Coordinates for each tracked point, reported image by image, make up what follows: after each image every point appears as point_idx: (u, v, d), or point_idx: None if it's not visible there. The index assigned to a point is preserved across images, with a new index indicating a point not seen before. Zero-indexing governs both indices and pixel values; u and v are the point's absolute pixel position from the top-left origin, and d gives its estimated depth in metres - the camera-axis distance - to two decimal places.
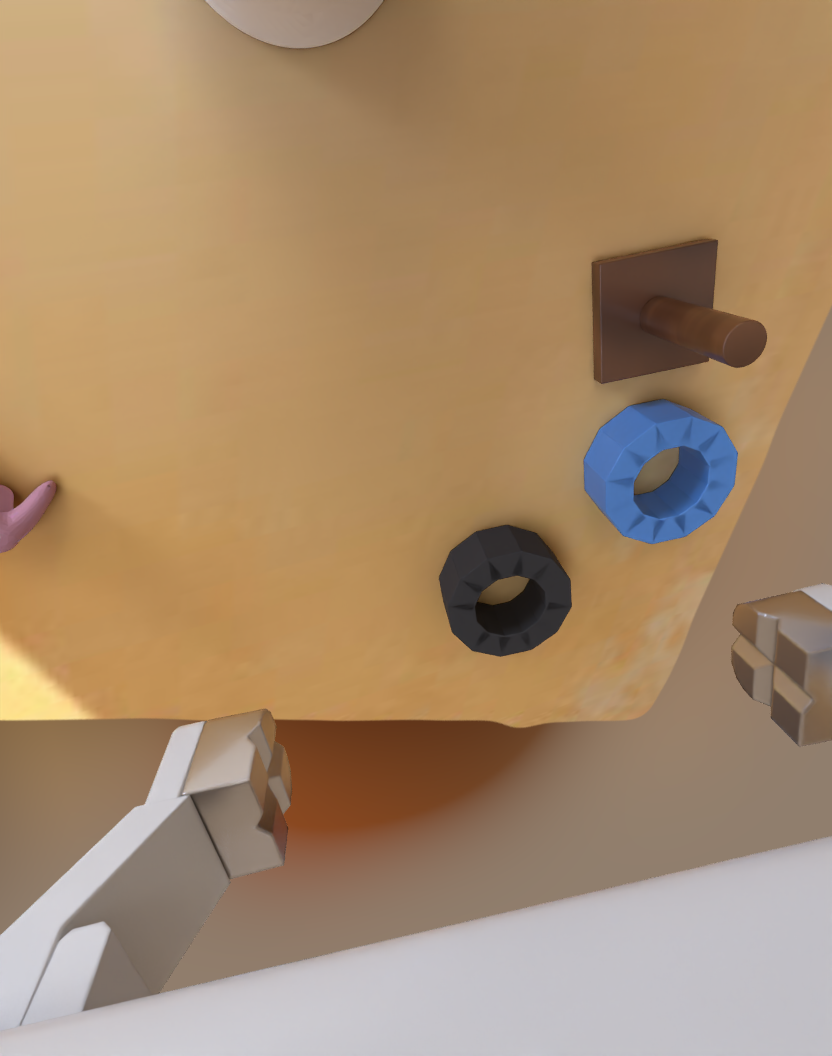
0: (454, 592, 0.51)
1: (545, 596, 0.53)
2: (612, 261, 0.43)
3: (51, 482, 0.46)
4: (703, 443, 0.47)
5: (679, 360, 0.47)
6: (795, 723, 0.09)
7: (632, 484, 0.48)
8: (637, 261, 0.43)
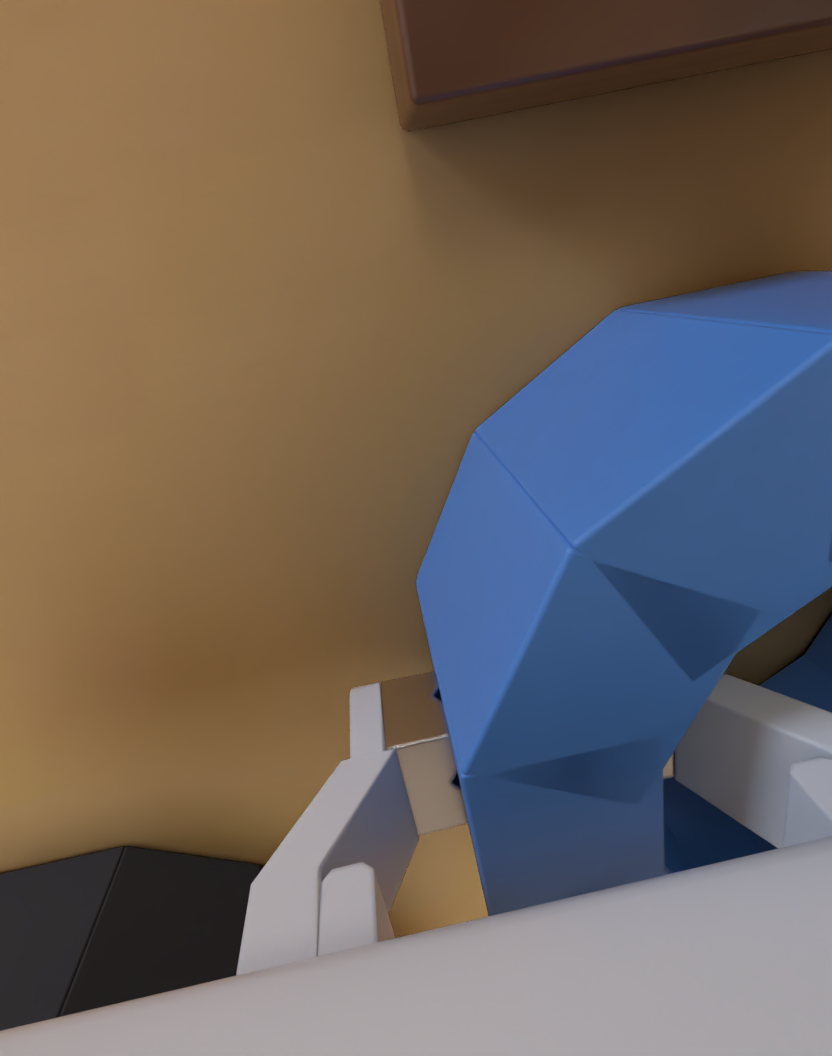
0: None
1: None
2: None
3: None
4: None
5: None
6: None
7: (654, 783, 0.07)
8: None
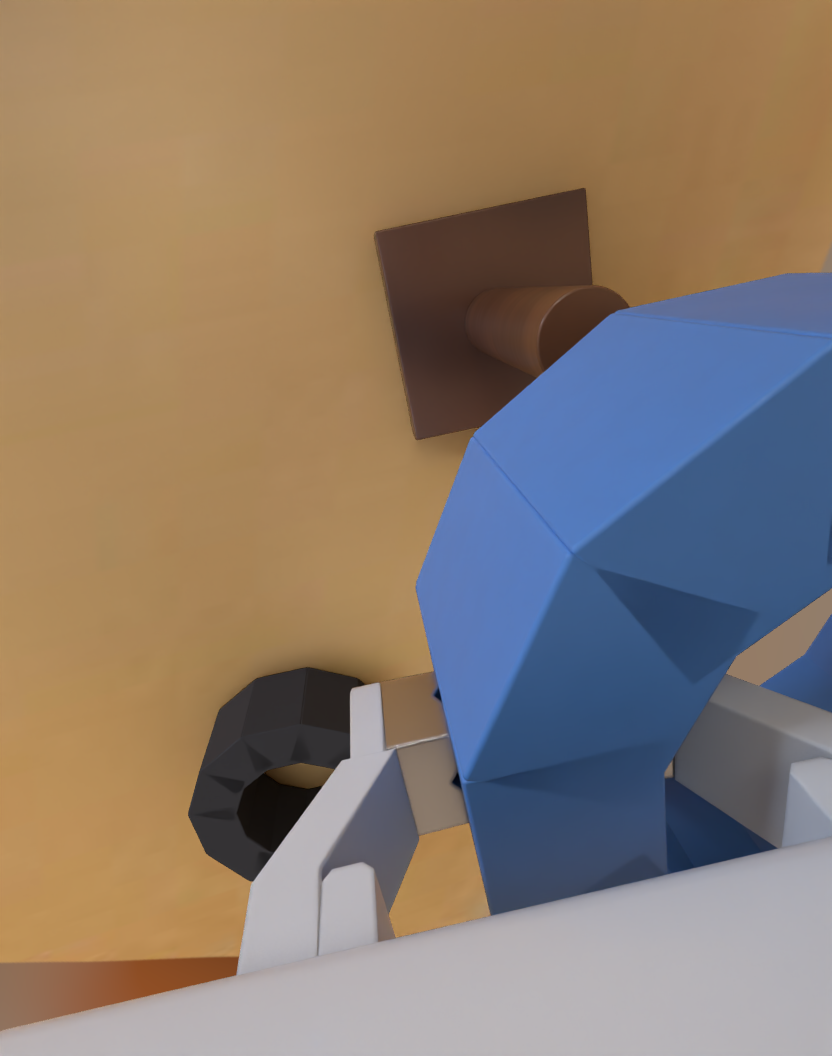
0: (195, 791, 0.30)
1: None
2: None
3: None
4: None
5: None
6: None
7: (655, 786, 0.07)
8: (443, 226, 0.24)
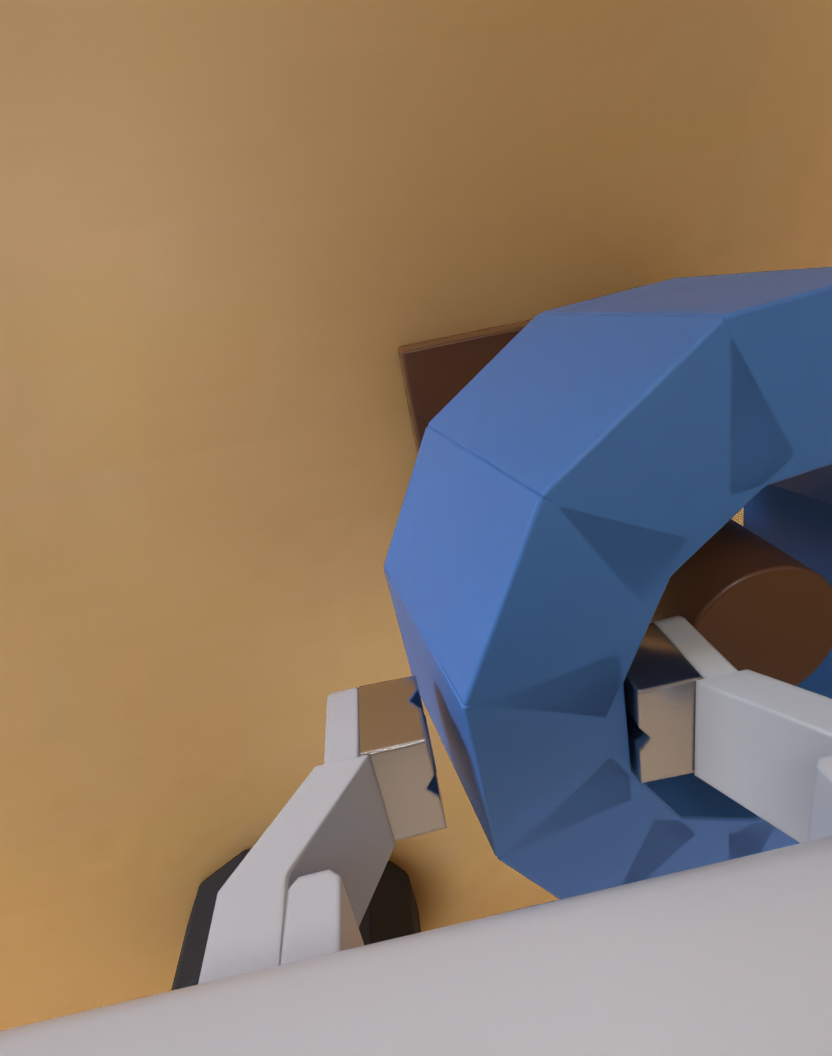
0: None
1: None
2: (433, 346, 0.18)
3: None
4: None
5: None
6: (637, 760, 0.09)
7: (617, 695, 0.08)
8: (492, 345, 0.18)
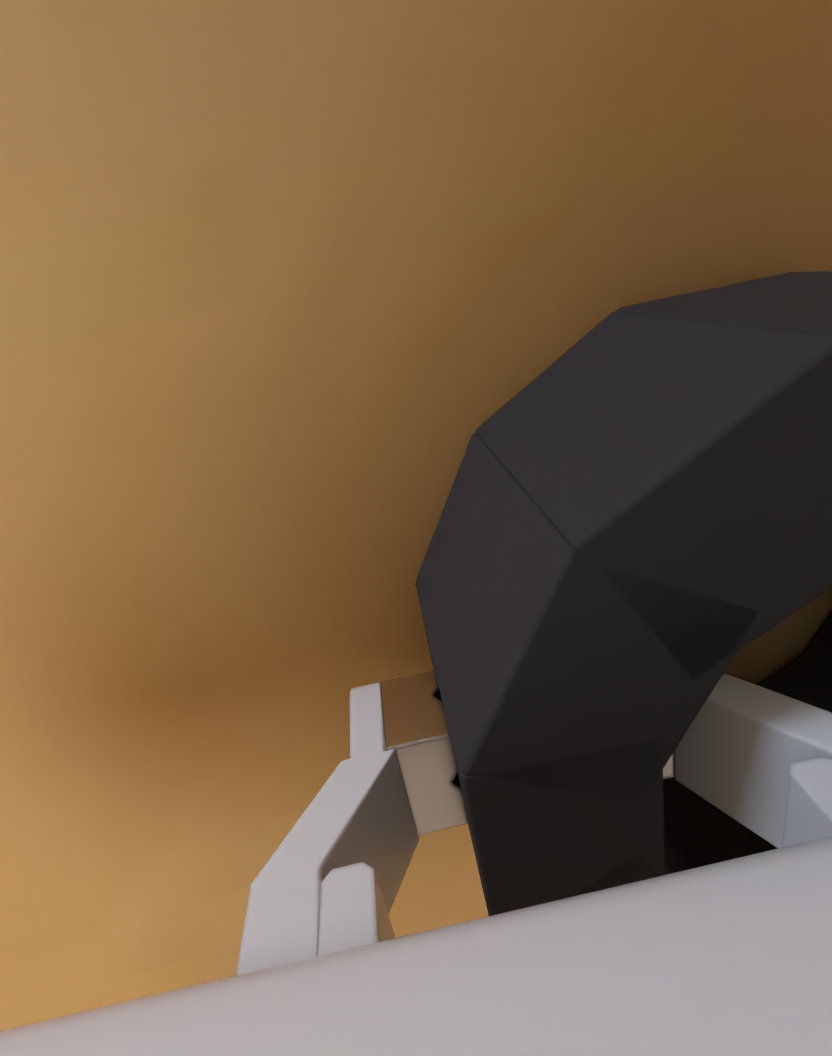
0: (520, 660, 0.06)
1: None
2: None
3: None
4: None
5: None
6: None
7: None
8: None
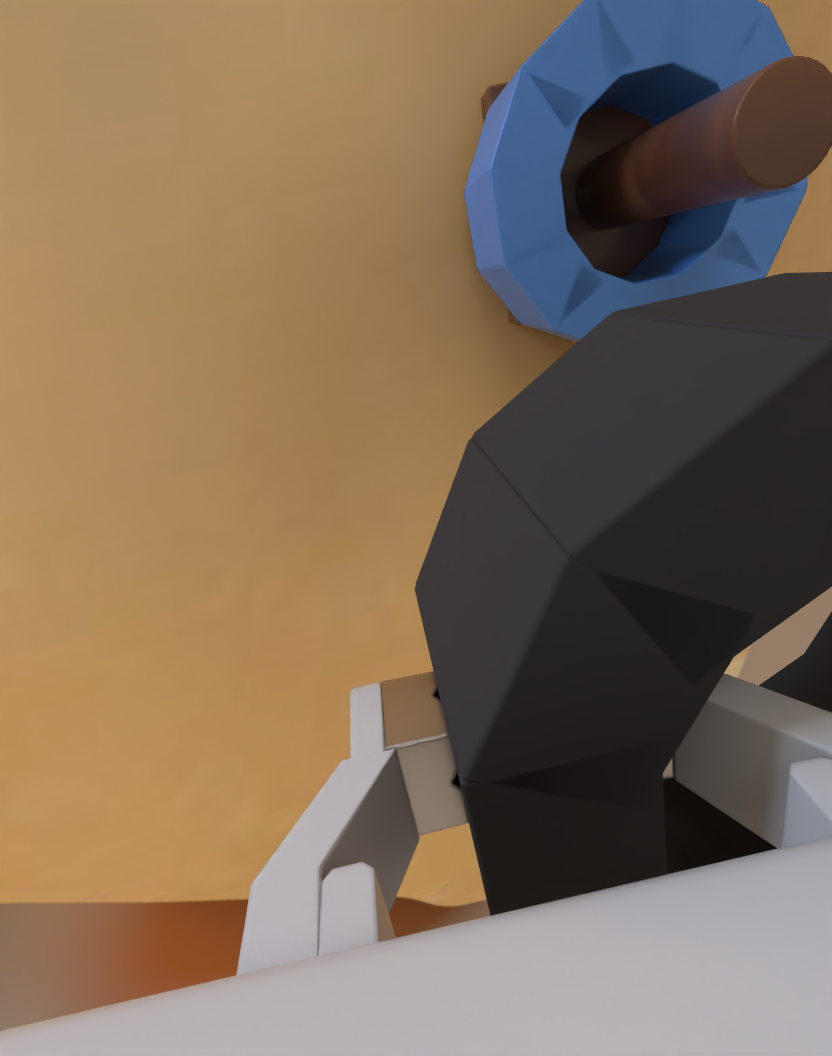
0: (518, 668, 0.06)
1: None
2: None
3: None
4: (721, 56, 0.19)
5: None
6: None
7: (557, 180, 0.20)
8: None
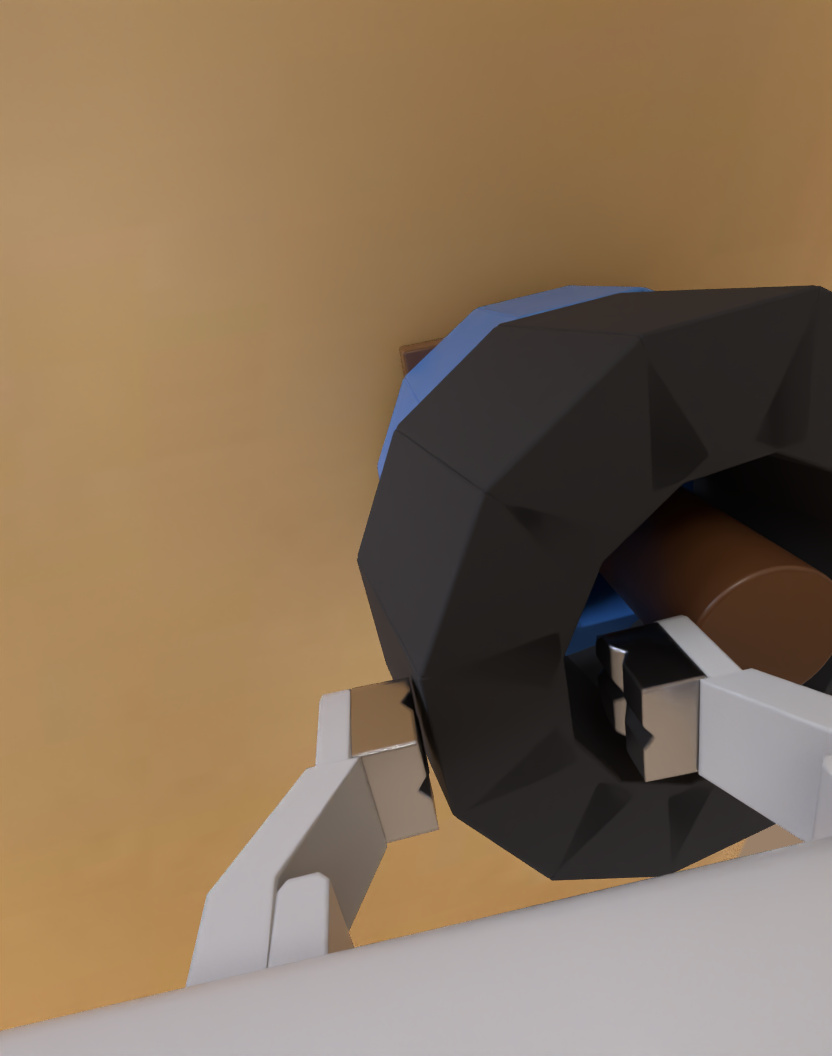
0: (455, 581, 0.08)
1: None
2: (435, 345, 0.18)
3: None
4: None
5: None
6: (640, 759, 0.09)
7: None
8: None
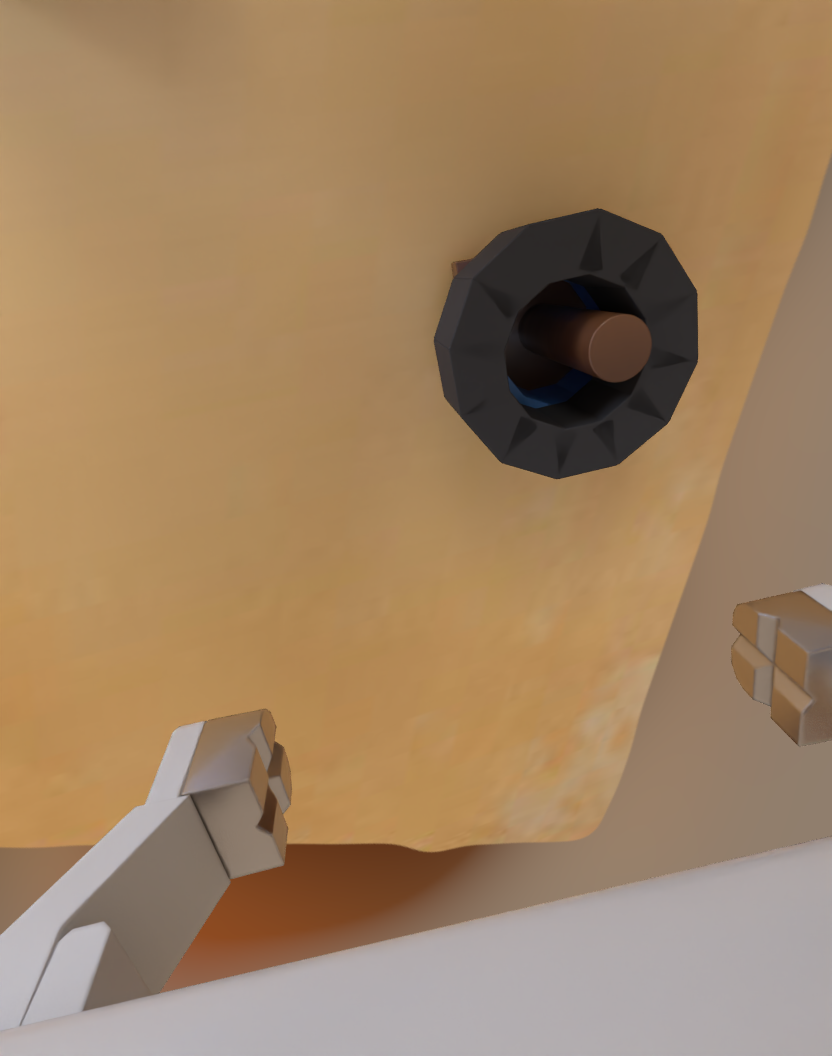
0: (462, 311, 0.25)
1: None
2: None
3: None
4: None
5: None
6: (795, 723, 0.09)
7: None
8: None
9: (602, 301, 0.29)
